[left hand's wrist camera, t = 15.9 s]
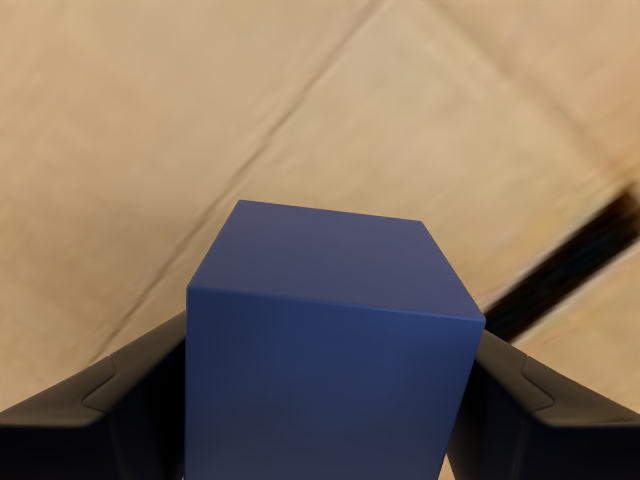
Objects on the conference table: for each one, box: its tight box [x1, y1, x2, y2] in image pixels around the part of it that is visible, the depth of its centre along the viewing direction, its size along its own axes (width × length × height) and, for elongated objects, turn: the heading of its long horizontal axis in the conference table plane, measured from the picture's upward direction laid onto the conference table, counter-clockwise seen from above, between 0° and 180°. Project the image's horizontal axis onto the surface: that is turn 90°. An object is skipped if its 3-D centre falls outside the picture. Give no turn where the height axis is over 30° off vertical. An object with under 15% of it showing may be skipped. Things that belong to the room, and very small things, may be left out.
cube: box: [183, 200, 486, 480], centre depth 10 cm, size 5×5×5 cm
